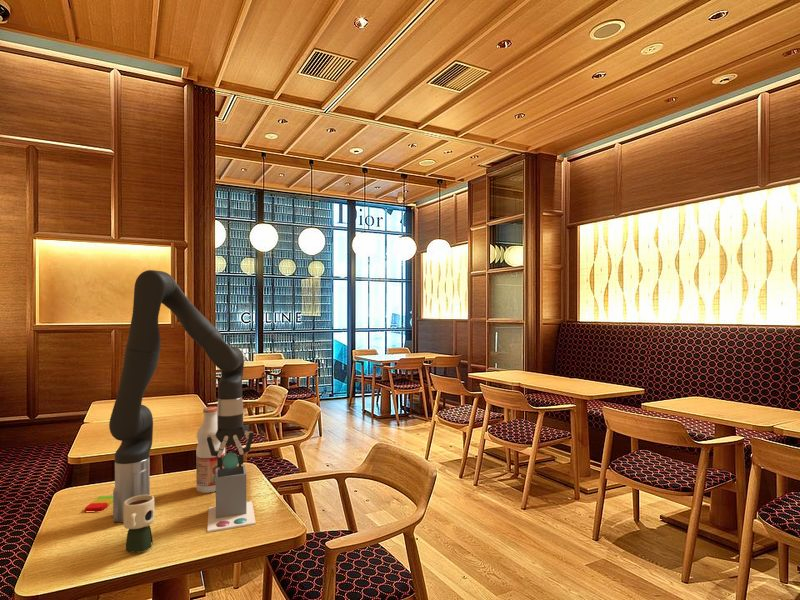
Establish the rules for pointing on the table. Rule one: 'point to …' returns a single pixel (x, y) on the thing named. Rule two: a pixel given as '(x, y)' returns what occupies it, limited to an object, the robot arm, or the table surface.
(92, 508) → the popsicle
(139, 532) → the character mug
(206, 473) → the strawberry milk bottle
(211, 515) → the tube card
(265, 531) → the table surface
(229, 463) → the teal ball
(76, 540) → the table surface
